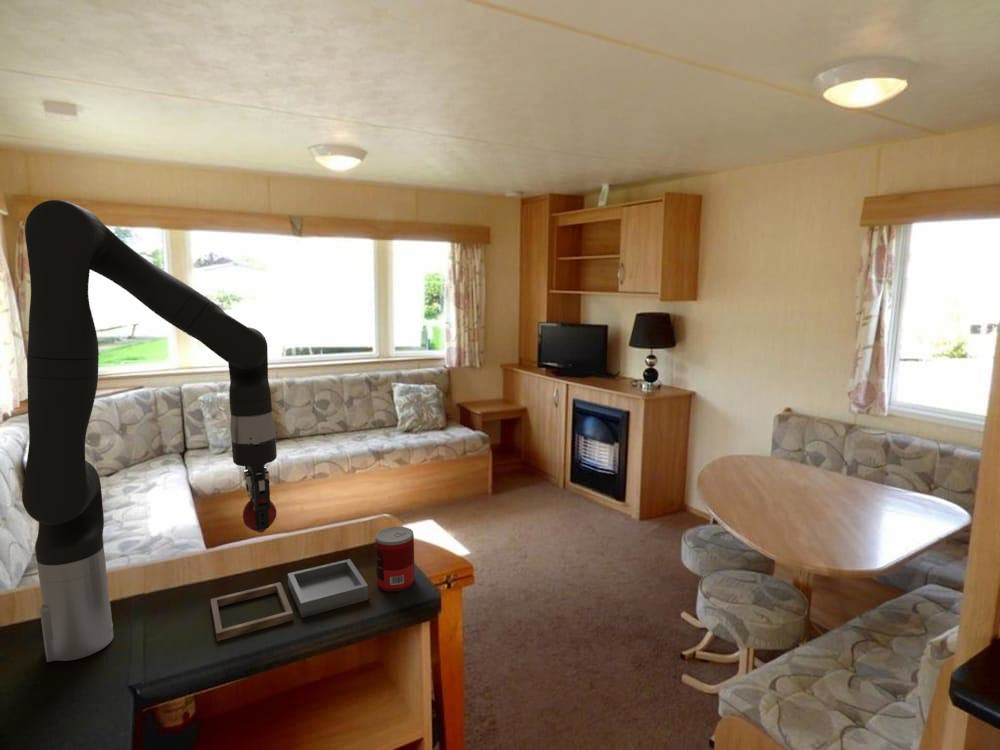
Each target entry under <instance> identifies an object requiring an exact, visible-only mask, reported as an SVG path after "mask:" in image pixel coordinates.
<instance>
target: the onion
mask: <svg viewBox="0 0 1000 750" xmlns="http://www.w3.org/2000/svg"><path fill="white" fill-rule="evenodd" d="M250 499H251V498H250ZM250 499H249V501H248V502H247V503H246V504H245V506H244V507H243V511H242V520H243V524H244V525H245V527H247V528H248V529H250V530H252V531H254V532H257V533H259V534H262V533H264V532H266V530H267V529H263V530H257V528H256V520H255V511H254V509H253V507H254V504H253V499H251V500H250ZM262 503H265V499H260V500H259V501H258V504H262ZM270 504H271V507H270V509H268V515H269V527H271V526H272V525H273V523H274V522H275V520H276V518H277V507H276V506H275V504H274V503H273V501H272V500H270Z"/></svg>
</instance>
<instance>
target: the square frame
mask: <svg viewBox="0 0 1000 750" xmlns="http://www.w3.org/2000/svg"><path fill="white" fill-rule="evenodd" d="M271 594H277V597H278V600H279V602H280V605H281V607H282V610H283V612H281V613H277V614H276V613H275V614H273V615H269V616H266V617H261V618H258V619H254V620H250V621H247V622H244V623H238V624H235V625H232V626H228V627H224V628H223V627H222V620H221V614H220V611H219V607H223V606H228V605H231V604H232V605H233V604H235V603H239V602H243V601H247V600H251V599H256V598H260V597H264V596H267V595H271ZM210 607H211V613H212V619H213V624H214V625H213V626H214V630H215V631H214V632H215V637H216V642H219V641H222V640H223V641H224V640H226V639H231V638H234V637H238V636H240V635H244V634H248V633H252V632H255V631H259V630H262V629H266V628H271V627H274V626H278V625H281V624H284V623H288V622H292V621H294V612H293V610H292V607H291V604H290V602H289V600H288V597H287V595H286V592H285V589H284V588H283V585H282V583H281V581H280V582H275V583H272V584H271V583H270V584H268V585H262V586H257V587H256V588H255V587H254V588H252V589H247V590H243V591H238V592H234V593H231V594H226V595H221V596H217V597H213V598H210Z"/></svg>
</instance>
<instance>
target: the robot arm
mask: <svg viewBox="0 0 1000 750" xmlns="http://www.w3.org/2000/svg"><path fill="white" fill-rule="evenodd" d="M24 236H25V245H26V254H27V261H28V268H29V270H28V271H29V277H30V278H29V282H30V302H29V303H30V304H29V313H28V334H27V335H28V339H27V349H26V351H27V352H26V354H27V355H26V356H27V358H26V382H27V388H26V389H27V417H28V418H27V419H28V421H27V422H28V433H29V436H28V437H29V438H28V452H27V457H26V465H25V466H26V467H25V471H24V476H23V477H24V478H23V485H22V490H21V502H22V505H23V507H24V509H25V511H26V513H27V514H28V515H29V517H30V518H32V519H34V521H36V522H38V533H37V537H36V541H35V546H34V549H35V550H34V551H35V559H36V565H37V574H38V578H39V579H38V580H39V586H40V587H39V588H40V594H41V601H42V603H41V607H40V609H39V614H40V622H41V627H42V628H41V629H42V630H41V631H42V635H43V643H44V644H43V646H44V651H45V652H44V653H45V658H46V663H50V662H55V661H56V662H58V661H59V662H66V661H67V662H69V661H75V660H79V659H83V658H86V657H89V656H91V655H93V654H96V653H97V652H99V651H101V650H103V649H104V648H106V647H107V646H108V645H109V644H110V643H111V642H112V641H113V639H114V624H113V617H112V610H111V609H112V608H111V607H112V606H111V601H110V591H109V584H108V583H109V582H108V574H107V573H108V572H107V565H106V556H105V545H104V527H105V525H104V524H105V520H104V519H105V518H104V517H105V516H104V507H103V504H104V503H103V496H102V495H103V493H102V484H101V479H100V476H99V473H98V471H97V469H96V468H95V466H94V465H93V464H91V463H90V462H89V461H87V460H86V438H87V437H86V436H87V432H88V428H89V424H90V420H91V416H92V411H93V408H94V404H95V399H96V394H97V390H98V389H97V388H98V383H99V382H98V379H99V360H100V359H99V356H100V355H99V353H100V352H99V351H100V350H99V341H98V334H97V330H96V326H95V321H94V318H93V313H92V310H91V309H92V308H91V306H90V300H89V299H90V298H89V281H90V271H92V272H95V273H97V274H98V275H100V276H102V277H104V278H106V279H107V280H109V281H111V282H113V283H114V284H116V285H117V286H118V287H121V288H122V289H123V290H125V291H127V292H128V294H130V295H131V296H133V297H134V298H135V299H137V300H138V301H139V302H140V303H142V304H143V305H144V306H145V307H146V308H147V309H149V310H150V311H152V312H153V313H154V314H156V315H157V316H158V317H160V318H161V319H163V320H164V321H165V322H168V324H171V325H172V326H173V327H175V328H176V329H178V330H180V331H182V332H183V333H185V334H186V335H188V336H190V337H191V338H193V339H195V340H198V341H199V342H200V343H202V344H203V345H204V346H205V347H207V348H208V349H209V350H211V351H212V352H213V353H214V354H215V355H217V356H218V357H220V359H222V360H224V361H226V362H227V364H228V371H229V372H228V373H229V379H230V380H229V381H230V384H229V391H228V392H229V393H228V396H229V397H228V399H229V412H230V421H229V425H230V426H229V427H230V440H231V451H232V461H233V464H235V466H239V467H244V468H245V469H244V470H243V476H244V480H245V489H246V492H247V497H248V499H249V501H250V500H251V499H253V504H254V507H253V509H254V511H255V520H256V528H257V530H263V529H266V530H267V529H268V528H269V527H270V526H269V515H268V509H270V507H271V504H270V501H271V490H270V483H271V482H270V479H271V478H270V472H269V470H268V468H267V467H266V466H265V465H266V464H269V463H273V462H274V461H275V460H276V459H277V456H278V454H277V439H276V429H275V428H276V427H275V420H274V415H273V407H272V406H273V404H272V394H271V388H270V384H269V360H268V359H269V358H268V357H269V355H268V354H269V353H268V342H267V339H266V337H265V336H264V335H263V333H262V332H261V331H259V330H258V329H256V328H254V327H250V326H249V327H248V326H246V325H245V324H243V323H241V322H240V321H239V320H237V319H235V318H234V317H232V316H230V315H229V314H227V313H226V312H225V311H224V310H223V309H222V307H220V306H219V305H218V304H216V303H215V302H214V301H213V300H211V299H209V298H208V297H206V296H205V295H203V294H202V293H200V292H199V291H197V290H196V289H194V288H192V287H191V286H190V285H188V284H186V283H185V282H183V281H182V280H180V279H178V278H177V277H175V276H173V275H172V274H171V273H168V272H167V271H166V270H164V269H162V268H161V267H159V266H157V265H156V264H154V263H152V262H151V261H149V260H148V259H147V258H145V257H144V256H142V255H141V254H140V253H138V251H137V252H136V251H135V250H134V249H133V248H131V246H129V245H128V244H127V243H125V242H124V241H123V240H122V239H120V237H119V236H117V235H116V234H115V233H114V232H113V231H112V230H110V228H109V227H107V225H105V224H104V223H103V222H102V221H101V220H100V219H99V218H98V217H97V215H96V214H95V213H93V212H92V211H91V210H89V209H86V208H85V207H83V206H80V205H78V204H76V203H72V202H70V201H67V200H62V199H49V200H45V201H42V202H40V203H39V204H37V205H35V206H34V207H33V208H32V210H31V211H30V212H29V214H28V215H27V217H26V220H25V225H24ZM260 499H265V503H262V504H258V501H259V500H260Z"/></svg>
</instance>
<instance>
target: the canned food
mask: <svg viewBox="0 0 1000 750" xmlns="http://www.w3.org/2000/svg"><path fill="white" fill-rule="evenodd" d="M414 537H415V536H414V531H413V530H412V529H411V528H408V527H406V526H391V527H386V528H383V529H381V530H379V531H378V532H376V533H375V537H374V538H375V539H374V540H375V569H376V573H375V574H376V584H377V586H378V588H379V589H380V590H381V591H385V592H389V591H396V592H399V591H398V590H401V591H404V590H406V589H408V588H410V587H411V586H412V585H413V583H414V580H415V539H414ZM403 589H404V590H403Z"/></svg>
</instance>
